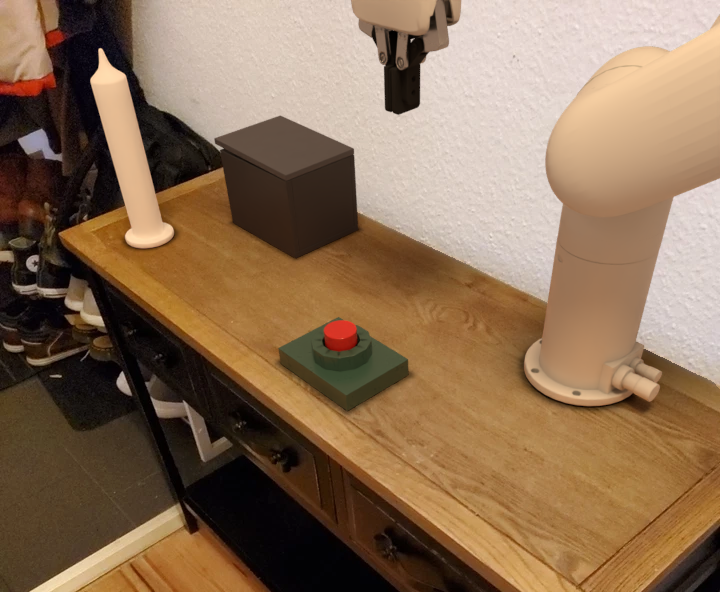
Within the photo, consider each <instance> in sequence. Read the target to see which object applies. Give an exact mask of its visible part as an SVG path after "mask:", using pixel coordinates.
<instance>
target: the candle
mask: <svg viewBox="0 0 720 592" xmlns="http://www.w3.org/2000/svg"><path fill="white" fill-rule="evenodd" d="M89 83H90V85H91V89H92V93H93V97H94V100H95V104H96V107H97V110H98V113H99V114H98V115H99V116H100V121H101V125H102V129H103V131H104V135H105V139H106V142H107V146H108V149H109V153H110V156H111V160H112V164H113V167H114V171H115V175H116V178H117V181H118V185H119V187H120V188H119V189H120V192H121V195H122V199H123V202H124V206H125V209H126V213H127V217H128V220H129V224H130V228H129V229H128V230H127V231H126V232H125V234H124V239H125V242H126V244H127V245H129V246H130V247H132V248H136V249H153V248H157V247H160V246H163V245H165V244H167V243H169V242H170V241H171V240H173V237H174V236H175V230H174V227H173V226H172V225H171V224H170V223H167V222H164V221H163V219H162V214H161V210H160V206H159V202H158V198H157V194H156V190H155V186H154V183H153V178H152V175H151V171H150V166H149V161H148V158H147V155H146V150H145V147H144V142H143V139H142V135H141V130H140V126H139V121H138V118H137V114H136V110H135V107H134V102H133V99H132V94H131V91H130V87H129V82H128V79H127V75H126V74H125V72H122V71H121V70H118V69H117V68H116V67H114V66H113V65H112V64H111V63H110V61H109V59H108V57H107V56H106V54H105V51H104V49H103V48H101V47H100V48H98V68H97V69H96V70H95V72H94V74H93V75H92V76H91V77H90V82H89Z"/></svg>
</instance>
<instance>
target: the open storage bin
mask: <svg viewBox="0 0 720 592" xmlns="http://www.w3.org/2000/svg"><path fill="white" fill-rule="evenodd" d="M219 153H220V158H221V164H222V169H223V175H224V181H225V186H226V193H227V197H228V203H229V207H230V208H229V209H230V214H231V220H232V223H233V224H235V225H236V226H238V227H239V228H241V229H243V230H245V231H246V232H249V233H250V234H252V235H253V236H255V237H257V238H259V239H260V240H263V241H264V242H266V243H267V244H269V245H271V246H273V247H274V248H277V249H278V250H280V251H282V252H284V253H285V254H287V255H288V256H290V257H293V258H294V259H298V258H300V257H302V256H304V255H307V254H309V253H311V252H313V251H315V250H317V249H320V248H322V247H324V246H326V245H328V244H331V243H332V242H335V241H337V240H340V239H341V238H343V237H346V236H348V235H350V234H352V233H354V232H357V231H359V217H358V216H359V215H358V201H357V199H358V197H357V180H356V162H355V154H353V155H351V156H348V157H346V158H343V159H341V160H338V161H336V162H333V163H331V164H328V165H326V166H323V167H321V168H318V169H316V170H313V171H311V172H308V173H305V174H303V175H300V176H298V177H295V178H293V179H290V180H288V181H285V180H283V179H281V178H279V177H277V176H275V175H274V174H272V173H270V172H268V171H266V170H264V169H262V168H260V167H258V166H256V165H255V164H253V163H251V162H249V161H247V160H245V159H243V158H241V157H239V156H237V155H235V154H234V153H232V152H230V151H228V150H226V149H224V148H221V149H219Z"/></svg>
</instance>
